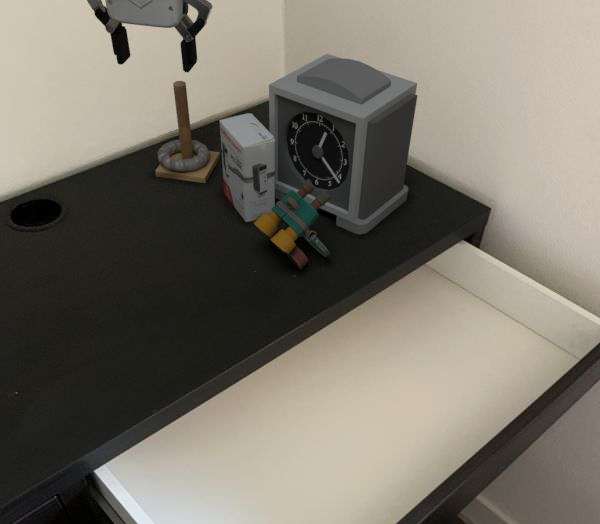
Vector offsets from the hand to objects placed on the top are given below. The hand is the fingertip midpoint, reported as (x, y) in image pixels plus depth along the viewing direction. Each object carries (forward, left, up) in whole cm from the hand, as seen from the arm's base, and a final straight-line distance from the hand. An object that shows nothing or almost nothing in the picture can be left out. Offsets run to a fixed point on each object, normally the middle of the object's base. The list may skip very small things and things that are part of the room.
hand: (156, 64), depth 93 cm
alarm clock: (+27, -2, -16) cm, 31 cm away
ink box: (+15, -8, -16) cm, 23 cm away
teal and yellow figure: (+24, -19, -16) cm, 34 cm away
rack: (+3, 0, -15) cm, 16 cm away
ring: (+3, 0, -13) cm, 14 cm away
